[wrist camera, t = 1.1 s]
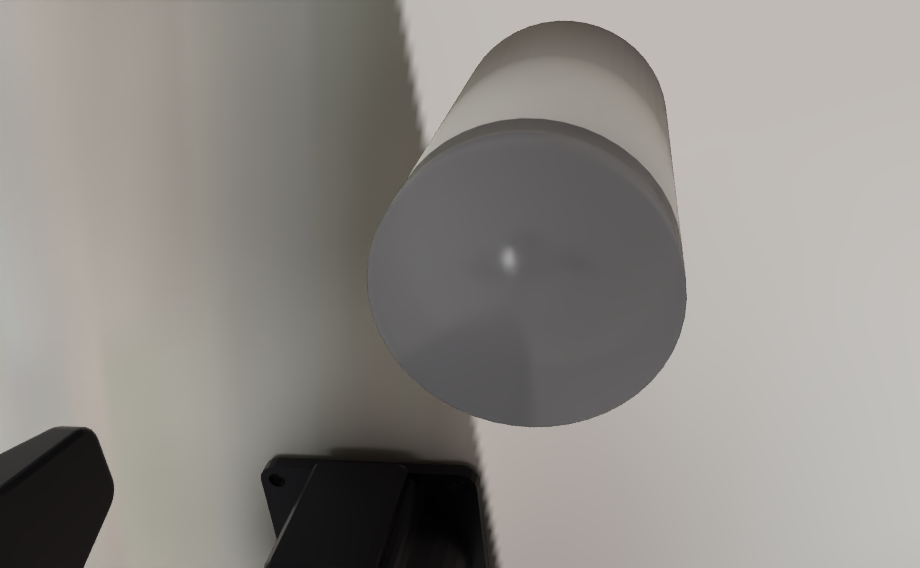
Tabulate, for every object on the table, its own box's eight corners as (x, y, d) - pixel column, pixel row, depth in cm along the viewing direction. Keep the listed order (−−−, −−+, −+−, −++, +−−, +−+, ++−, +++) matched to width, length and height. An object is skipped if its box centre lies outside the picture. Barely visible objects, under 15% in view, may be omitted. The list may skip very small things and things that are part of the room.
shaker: (665, 217, 20) (682, 431, 13) (470, 221, 21) (389, 422, 14) (668, 13, 18) (691, 139, 11) (451, 27, 19) (344, 151, 12)
